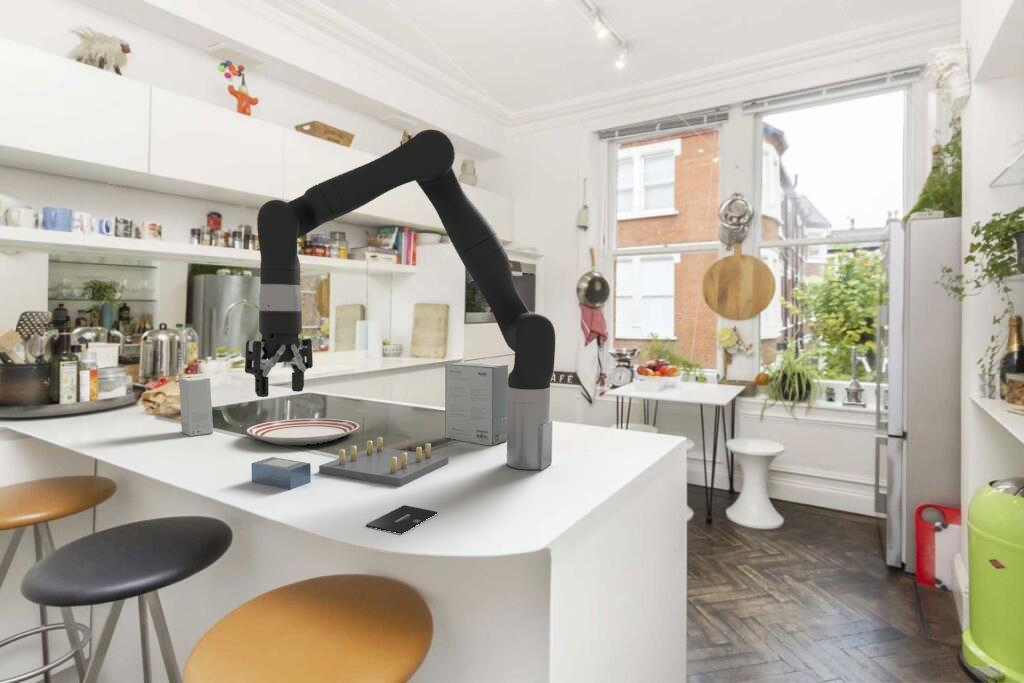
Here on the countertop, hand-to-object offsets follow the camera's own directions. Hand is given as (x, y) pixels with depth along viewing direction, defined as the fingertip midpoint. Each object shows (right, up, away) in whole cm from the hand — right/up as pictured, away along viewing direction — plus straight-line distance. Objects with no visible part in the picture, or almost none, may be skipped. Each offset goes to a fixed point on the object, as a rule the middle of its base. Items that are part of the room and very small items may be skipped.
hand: (280, 393), depth 106 cm
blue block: (0, -17, +1) cm, 18 cm away
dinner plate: (-10, -16, +39) cm, 43 cm away
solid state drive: (+27, -19, -17) cm, 37 cm away
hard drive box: (+35, -16, +39) cm, 55 cm away
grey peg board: (+18, -17, +12) cm, 27 cm away
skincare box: (-40, -15, +42) cm, 60 cm away
